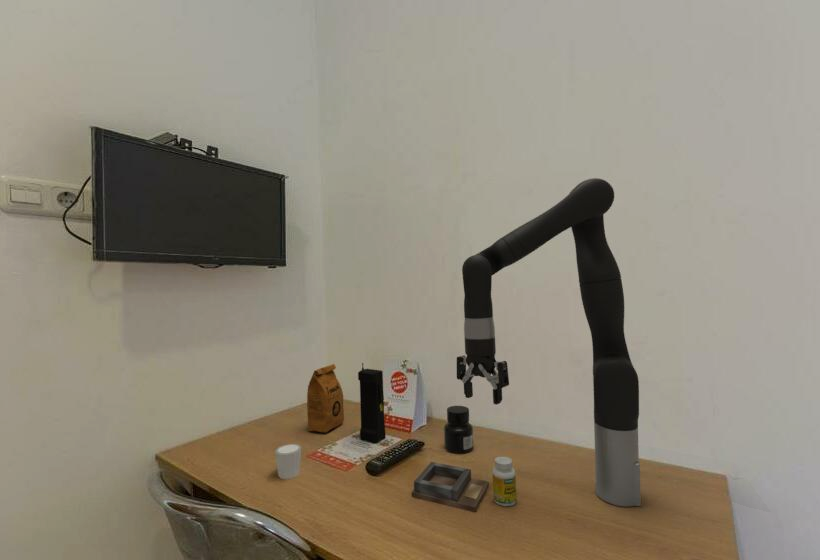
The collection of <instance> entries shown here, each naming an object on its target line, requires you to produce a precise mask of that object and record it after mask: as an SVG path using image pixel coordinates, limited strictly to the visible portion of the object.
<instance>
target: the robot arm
mask: <svg viewBox="0 0 820 560" xmlns="http://www.w3.org/2000/svg"><path fill="white" fill-rule="evenodd" d="M614 202H615V191H614V188H613V186H612V185H611V184H610V183H609V182H608V181H607V180H604V179H602V178H596V177H595V178H588V179H585V180H583V181H581V182H579V183H578V184H577V185H576V186H575V187H574V188H573V189H571V191H570V192H569V193H568V194H567V196H565V197H564V198H562V199H561V200H560V201H559V202H557V204H556V203H555V205H553V206H551V208H549V209H548V210H546V211H545V212H543V213H541V214H540V215H537V216H536V217H534V218H532V219H530V220H529V221H527V222H526V223H524V224H522V225H520V226H518V227H517V228H515V229H513V230H512V231H509V233H506V234H505V235H504V236H501V237H500V238H499V239H498V240H496V241H494V243H493V244H491V245H489V246H488V247H487V248H485V249H483V250H481V251H480V252H478V253H476V254H474V255H471V256H469V257H467V258H466V259H465V261H463V263H462V264H463V265H462V268H461V270H462V271H461V272H462V273H461V274H462V282H463V292H464V293H463V295H464V297H463V298H464V299H463V311H464V323H463V331H464V332H463V335H464V353H465V355H459V356H457V357H456V379H457V380H459V381H461V382H462V383H463V395H464V397H465V398H466V399H470V398H472V397H473V395H474V392H473V389H474V387H473V382H472V380H474V377H480V378H485V379H486V381H487V382H488V383H489V384H490V385H491V386H492V403H493V404H494V405H500V404H501V402H502V401H503V389H504V388H505V387H508V386H509V385H510V378H509V369H508V361H506V360H503V361H497V360H496V351H497V349H496V347H497V346H496V333H495V332H496V329H495V321H494V311H493V308H494V307H493V300H492V299H493V298H492V282H493V281H492V277H493V276H494V275H495V274H497V273H499V272H500V271H502V270H503V269H504V268H506V267H509V266H511V265H514V264H515V263H517V262H519V261H520V260H522V259H523V258H525V257H527V256H529V255H530V254H531V253H533V252H535V251H536V250H537V249H539V248H540V247H542V246H544V245H545V244H546V243H548V242H549V241H550V240H552V239H553V238H555V237H556V236H558V235H560V234H562V233H563V232H565V231H567V230H569V229H571V232H572V236H573V239H574V245H575V247H574V248H575V256H576V257H575V259H576V267H577V273H578V274H577V275H578V283H579V291H580V297H581V302H582V306H583V311H584V314H585V318H586V322H587V324H588V327H589V330H590V334H591V335H590V336H591V344H592V378H593V379H592V380H593V383H592V384H593V421H594V422H593V424H594V425H593V426H594V427H593V428H594V430H593V431H594V433H593V434H594V464H595V465H594V471H595V472H594V473H595V474H594V475H595V493H596V495H597V497H598V498H600V499H601V500H602V501H604V502H606V503H609V504H610V505H614V506H618V507H627V508H628V507H641V506H642V503H641V502H642V501H641V500H642V499H641V463H640V461H639V459H640V458H639V452H640V451H639V417H640V387H639V385H640V384H639V383H640V382H639V381H640V380H639V376H638V373H637V371H636V369H635V367H634V364H633V363H632V361H631V357H630V354H629V353H630V352H629V349H628V345H627V341H626V335H625V295H624V287H623V281H622V276H621V275H622V274H621V271H620V268H619V265H618V262H617V261H616V258H615V256H614V254H613V253H612V250H611V248H610V246H609V243H608V241H607V237H606V231H605V222H604V221H605V220H604V215H605V214H606V213H607V212H608V211H609V210H610V209H611V207H612V206H613V203H614ZM467 366H468V368H467Z"/></svg>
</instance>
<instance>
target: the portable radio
mask: <svg viewBox="0 0 820 560" xmlns="http://www.w3.org/2000/svg"><path fill="white" fill-rule="evenodd" d="M361 364H362V365H361V366H362V368H361V370H360V371H358V373H357V377H358V381H359V395H360V396H359V398H360V400H359V401H360V430H359V439H360V441H364V442H367V443H372V444H376V443H378V442H380V441H382V440H384V439H385V438H387V435H386V424H385V423H386V420H385V401H384V400H385V398H384V397H385V394H384V377H383V372H384V371H383V370H379V369H372V368H364V362H362V363H361Z"/></svg>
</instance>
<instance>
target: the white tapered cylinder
mask: <svg viewBox="0 0 820 560" xmlns="http://www.w3.org/2000/svg"><path fill="white" fill-rule="evenodd" d="M274 455H275V459H276V465H277V466H276V468H277V476H278V477H280V478H279V479H281V478H284V479H283V480H290V478H291V479H293V478H296V477H297V475H298V476H299V475H300V472H301V458H302V457H301V455H302V446H301V445H300V444H297V443H288V444H283V445H280V446H279V447H277V448H276V449H275V451H274Z"/></svg>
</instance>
